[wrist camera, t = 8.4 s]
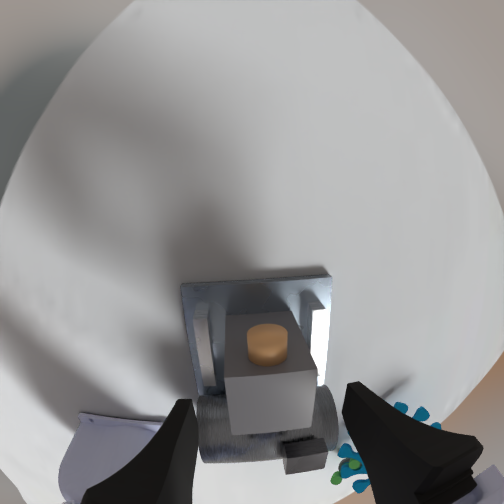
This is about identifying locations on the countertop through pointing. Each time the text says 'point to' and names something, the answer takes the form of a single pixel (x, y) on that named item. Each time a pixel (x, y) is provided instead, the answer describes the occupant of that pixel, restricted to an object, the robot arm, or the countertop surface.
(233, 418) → the grey knobbed block
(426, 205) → the countertop surface
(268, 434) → the motor mount
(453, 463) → the robot arm
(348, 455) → the gear
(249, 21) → the countertop surface
